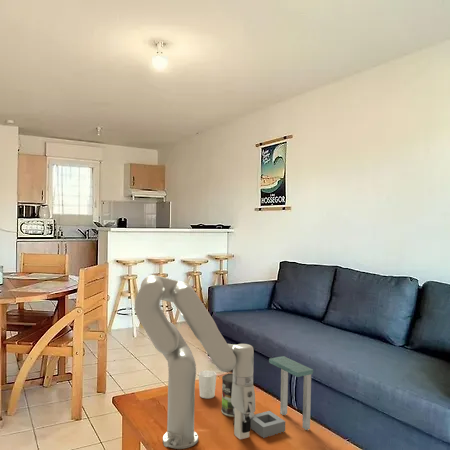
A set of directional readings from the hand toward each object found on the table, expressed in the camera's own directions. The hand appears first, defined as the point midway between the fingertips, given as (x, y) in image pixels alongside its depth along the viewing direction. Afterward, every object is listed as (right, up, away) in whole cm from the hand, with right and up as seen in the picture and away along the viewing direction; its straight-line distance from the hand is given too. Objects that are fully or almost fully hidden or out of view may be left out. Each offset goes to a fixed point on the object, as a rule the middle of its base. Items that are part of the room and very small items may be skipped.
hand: (241, 427), depth 157 cm
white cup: (-14, -3, +35) cm, 38 cm away
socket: (+10, -3, +5) cm, 11 cm away
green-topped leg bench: (+19, -3, +11) cm, 22 cm away
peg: (0, -3, 0) cm, 3 cm away
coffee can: (-2, -3, +20) cm, 20 cm away
